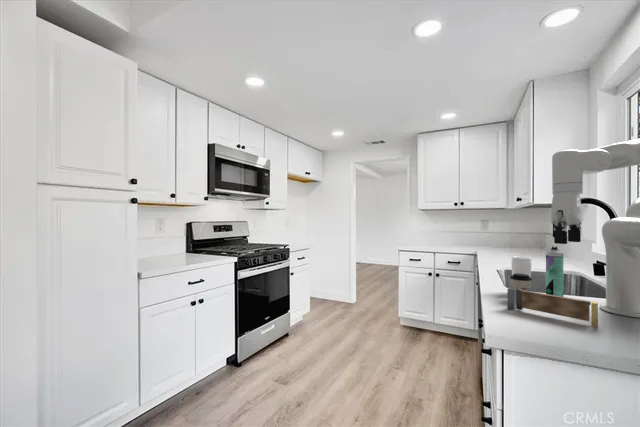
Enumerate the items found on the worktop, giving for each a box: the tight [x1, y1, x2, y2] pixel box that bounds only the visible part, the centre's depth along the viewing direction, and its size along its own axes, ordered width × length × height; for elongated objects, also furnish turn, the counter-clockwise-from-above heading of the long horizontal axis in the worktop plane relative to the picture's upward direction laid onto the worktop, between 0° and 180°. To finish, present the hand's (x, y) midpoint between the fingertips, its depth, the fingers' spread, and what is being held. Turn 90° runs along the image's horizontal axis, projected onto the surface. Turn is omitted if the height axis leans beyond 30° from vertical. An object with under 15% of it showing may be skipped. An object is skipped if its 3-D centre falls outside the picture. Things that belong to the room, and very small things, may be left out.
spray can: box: [545, 245, 564, 297], centre depth 119 cm, size 6×6×20 cm
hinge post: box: [507, 287, 517, 311], centre depth 104 cm, size 2×2×7 cm
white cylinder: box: [511, 255, 532, 278], centre depth 123 cm, size 7×7×15 cm
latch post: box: [590, 301, 599, 329], centre depth 88 cm, size 2×1×7 cm, turn 131°
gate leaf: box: [515, 289, 592, 322], centre depth 95 cm, size 19×2×7 cm, turn 41°
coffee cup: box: [509, 274, 533, 291], centre depth 113 cm, size 7×7×10 cm
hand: (567, 242), depth 96 cm, fingers open, 9 cm apart
